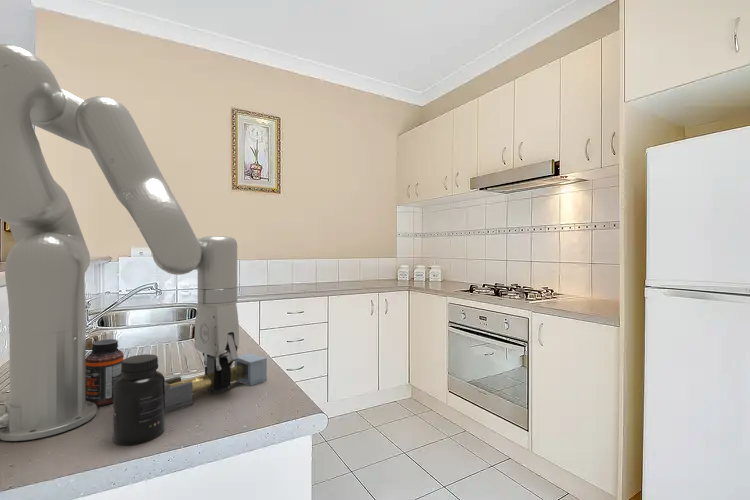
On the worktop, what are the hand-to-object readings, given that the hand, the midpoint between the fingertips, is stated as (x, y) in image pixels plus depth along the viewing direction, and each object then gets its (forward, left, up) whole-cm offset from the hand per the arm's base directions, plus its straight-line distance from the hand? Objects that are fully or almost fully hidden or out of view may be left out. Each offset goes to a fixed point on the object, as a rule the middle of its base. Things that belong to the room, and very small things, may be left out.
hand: (217, 385), depth 76 cm
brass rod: (-3, 0, -1) cm, 3 cm away
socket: (+7, 0, -1) cm, 8 cm away
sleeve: (-11, 0, -1) cm, 11 cm away
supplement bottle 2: (-17, -8, -1) cm, 19 cm away
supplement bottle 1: (-16, +12, -1) cm, 20 cm away
